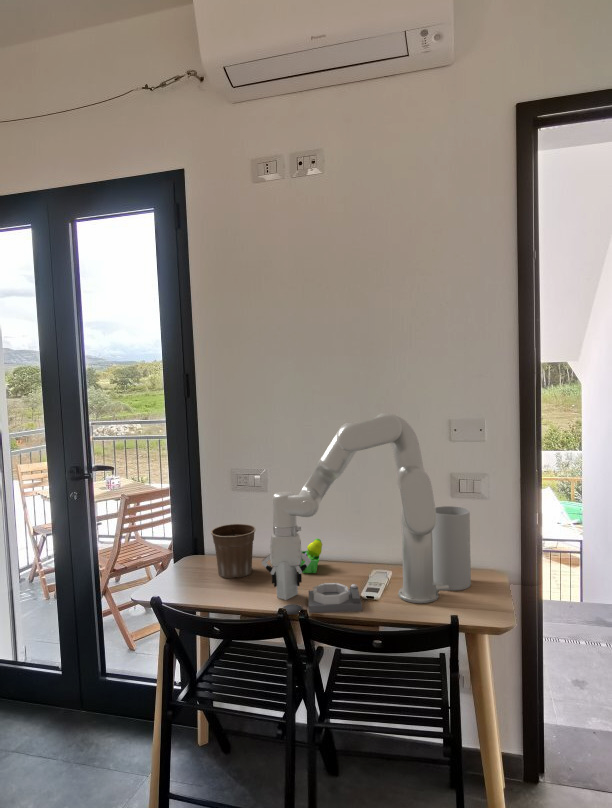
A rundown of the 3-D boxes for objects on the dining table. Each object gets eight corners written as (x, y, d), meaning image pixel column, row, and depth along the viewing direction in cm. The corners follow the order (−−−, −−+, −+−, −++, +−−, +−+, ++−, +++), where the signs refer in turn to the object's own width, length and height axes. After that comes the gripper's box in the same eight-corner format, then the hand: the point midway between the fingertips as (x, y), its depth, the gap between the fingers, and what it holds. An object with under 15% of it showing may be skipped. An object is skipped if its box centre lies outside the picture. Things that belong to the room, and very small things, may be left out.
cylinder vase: (456, 575, 189) (455, 504, 188) (478, 588, 177) (477, 512, 176) (425, 580, 185) (423, 508, 184) (445, 593, 173) (444, 516, 172)
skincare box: (288, 591, 178) (287, 555, 178) (298, 594, 176) (297, 558, 175) (276, 597, 174) (274, 560, 173) (285, 600, 171) (284, 563, 171)
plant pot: (241, 583, 187) (240, 537, 186) (203, 577, 194) (201, 533, 193) (265, 568, 202) (263, 526, 201) (228, 563, 209) (227, 522, 208)
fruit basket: (299, 564, 206) (299, 534, 205) (323, 563, 205) (322, 534, 205) (298, 574, 194) (297, 543, 194) (322, 574, 194) (321, 543, 193)
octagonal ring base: (358, 595, 174) (357, 581, 174) (362, 611, 162) (361, 596, 162) (308, 596, 174) (308, 582, 174) (308, 612, 162) (308, 597, 162)
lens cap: (302, 607, 167) (302, 603, 167) (302, 615, 161) (302, 612, 161) (282, 607, 167) (282, 604, 167) (282, 616, 161) (282, 612, 161)
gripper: (311, 526, 178) (313, 580, 178) (259, 528, 178) (261, 581, 178) (312, 533, 170) (313, 588, 171) (257, 534, 170) (259, 590, 171)
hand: (286, 584), depth 175 cm, fingers closed on skincare box, 6 cm apart
